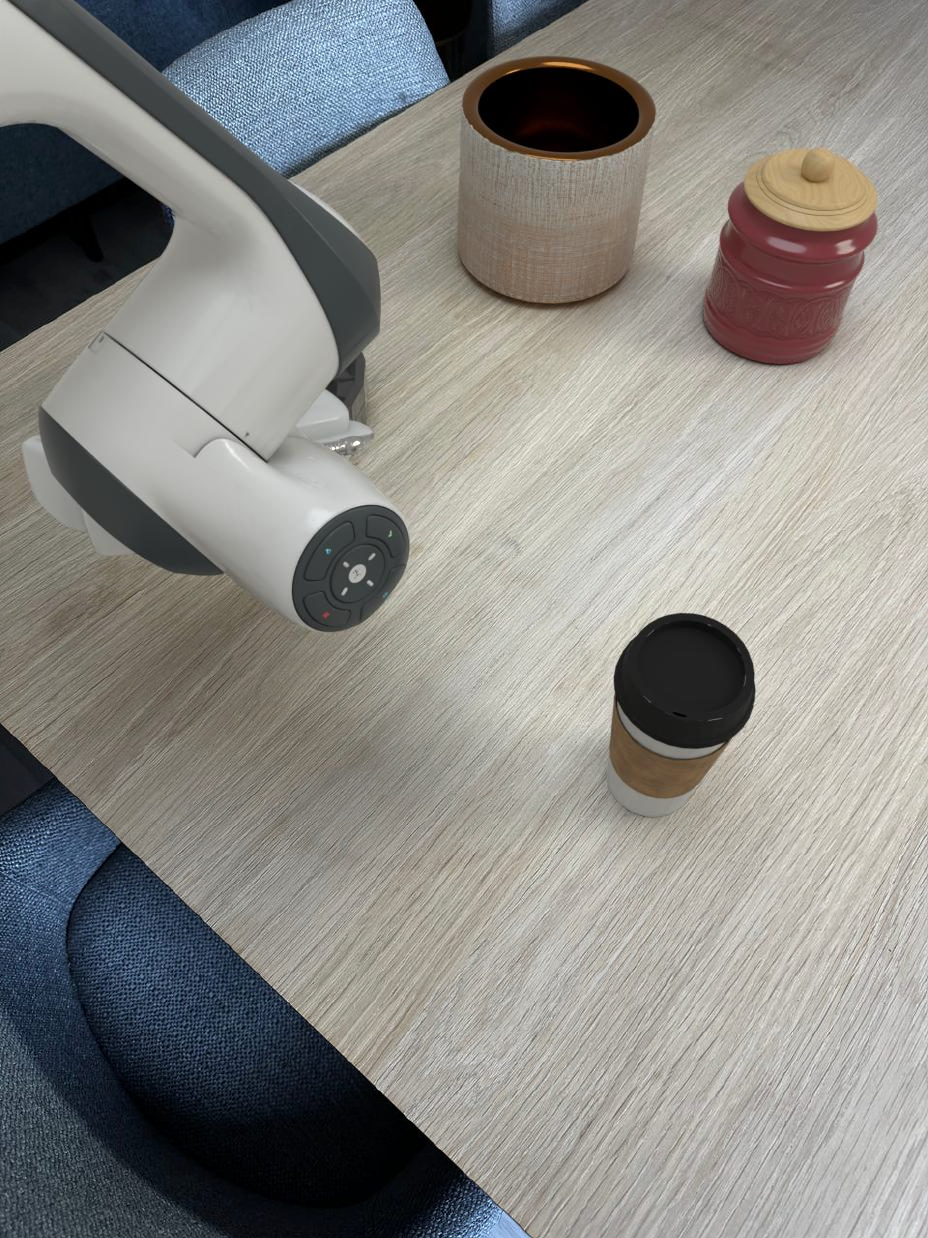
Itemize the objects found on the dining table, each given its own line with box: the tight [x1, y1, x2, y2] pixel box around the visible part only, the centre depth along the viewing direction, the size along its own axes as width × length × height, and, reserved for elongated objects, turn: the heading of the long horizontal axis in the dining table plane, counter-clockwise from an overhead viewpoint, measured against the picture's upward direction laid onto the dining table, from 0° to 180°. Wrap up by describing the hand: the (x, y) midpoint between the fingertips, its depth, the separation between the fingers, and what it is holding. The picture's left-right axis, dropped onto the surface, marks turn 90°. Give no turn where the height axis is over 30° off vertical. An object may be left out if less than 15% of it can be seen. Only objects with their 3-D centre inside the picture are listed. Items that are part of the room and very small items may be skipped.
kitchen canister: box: [702, 146, 879, 365], centre depth 93 cm, size 13×13×18 cm
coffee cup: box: [606, 612, 757, 818], centre depth 66 cm, size 8×8×15 cm
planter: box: [456, 55, 657, 305], centre depth 99 cm, size 18×18×16 cm
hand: (157, 415), depth 72 cm, fingers open, 8 cm apart
